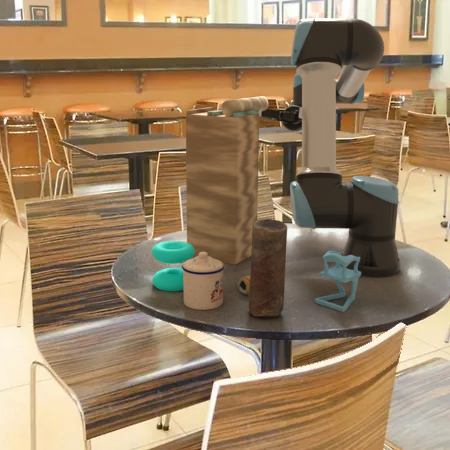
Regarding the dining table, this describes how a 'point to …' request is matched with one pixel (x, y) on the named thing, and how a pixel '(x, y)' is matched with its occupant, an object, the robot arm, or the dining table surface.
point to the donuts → (172, 255)
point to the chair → (340, 278)
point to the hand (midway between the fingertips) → (276, 110)
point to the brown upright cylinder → (267, 268)
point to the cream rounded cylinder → (244, 105)
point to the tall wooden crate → (222, 182)
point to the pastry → (244, 285)
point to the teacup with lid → (203, 282)
